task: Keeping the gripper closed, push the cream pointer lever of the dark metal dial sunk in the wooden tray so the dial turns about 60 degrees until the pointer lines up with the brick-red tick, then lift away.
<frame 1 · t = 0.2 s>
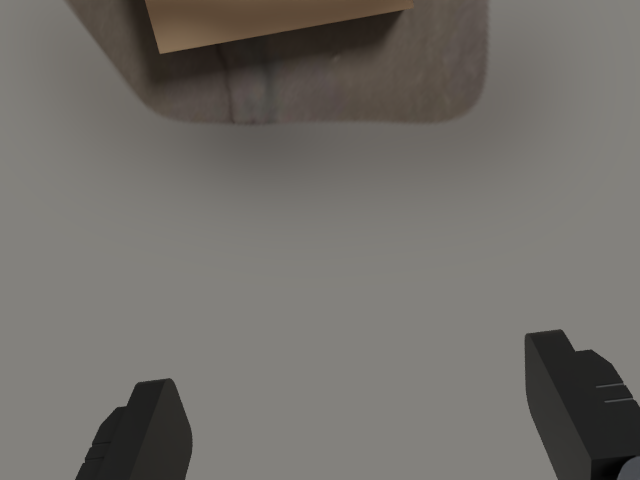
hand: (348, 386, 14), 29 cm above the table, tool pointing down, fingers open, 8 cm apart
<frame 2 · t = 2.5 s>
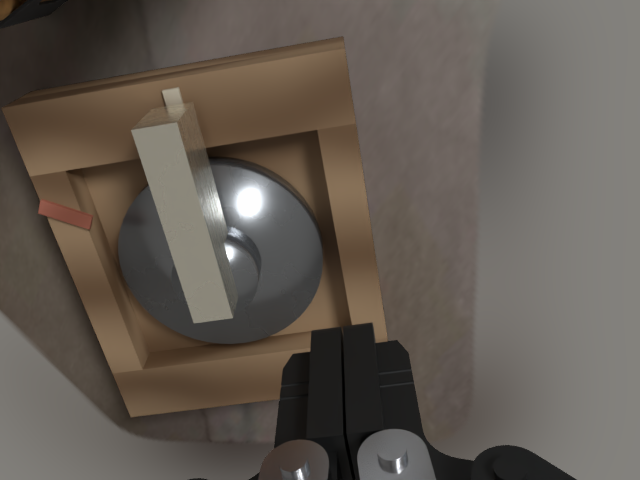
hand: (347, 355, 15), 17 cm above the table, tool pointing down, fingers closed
dial: (208, 246, 28), point 4 cm above the table, hinge at 0.0°
wooden tray: (229, 234, 32), on the table
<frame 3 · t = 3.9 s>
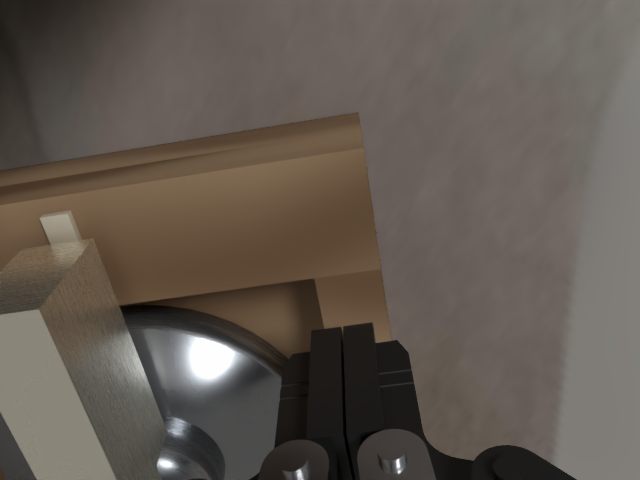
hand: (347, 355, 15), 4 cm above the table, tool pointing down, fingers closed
dial: (133, 459, 17), point 4 cm above the table, hinge at 0.0°
wooden tray: (181, 398, 21), on the table
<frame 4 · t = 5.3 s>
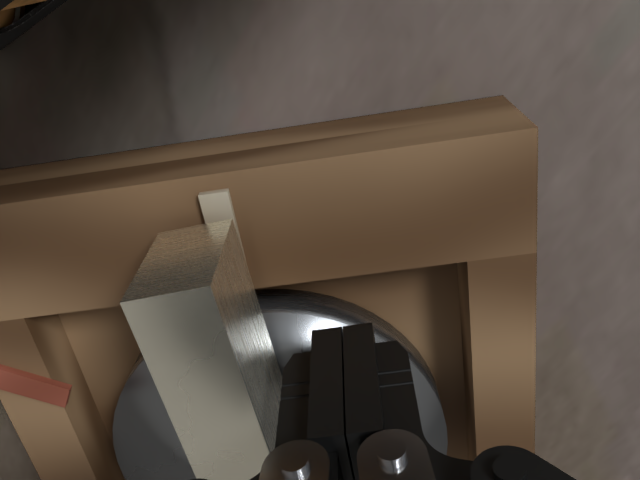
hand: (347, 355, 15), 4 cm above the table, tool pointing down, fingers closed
dial: (264, 446, 16), point 4 cm above the table, hinge at 3.7°, touching gripper
wooden tray: (286, 387, 21), on the table
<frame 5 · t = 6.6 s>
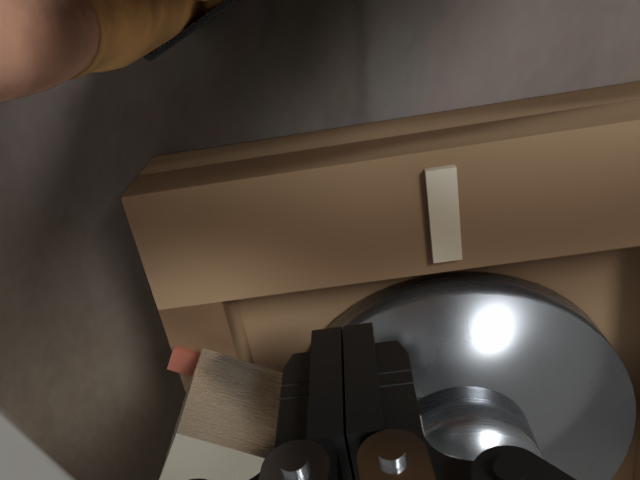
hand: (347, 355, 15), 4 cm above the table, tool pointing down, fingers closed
dial: (419, 457, 16), point 4 cm above the table, hinge at 59.9°, touching gripper
wooden tray: (443, 375, 20), on the table
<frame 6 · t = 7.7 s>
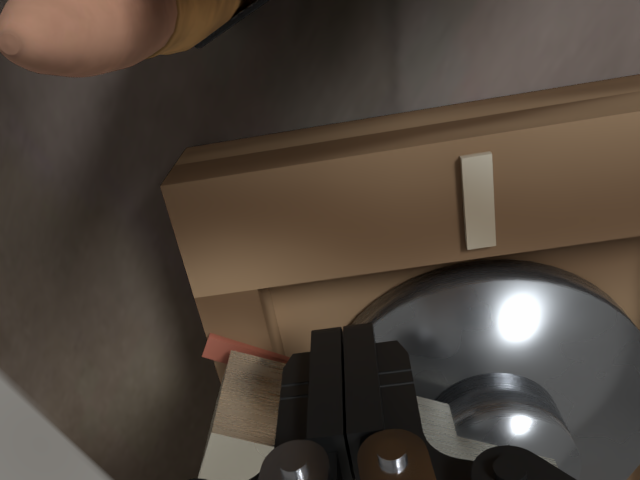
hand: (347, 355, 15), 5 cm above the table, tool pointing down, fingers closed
dial: (449, 445, 17), point 4 cm above the table, hinge at 63.7°
wooden tray: (469, 364, 20), on the table
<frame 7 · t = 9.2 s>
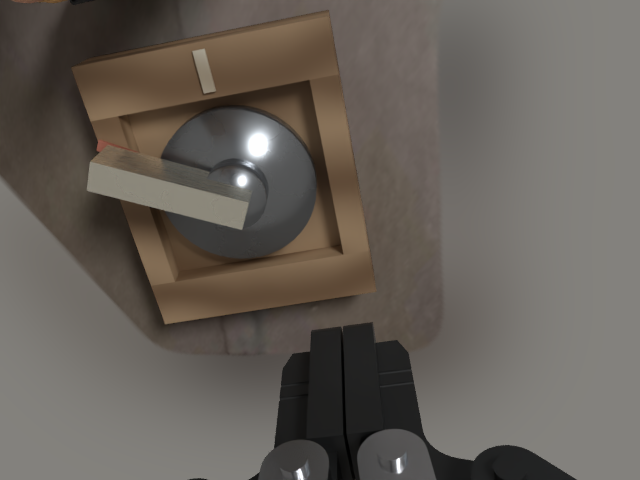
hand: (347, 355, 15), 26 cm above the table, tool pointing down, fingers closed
dial: (210, 189, 37), point 4 cm above the table, hinge at 63.7°
wooden tray: (242, 172, 40), on the table
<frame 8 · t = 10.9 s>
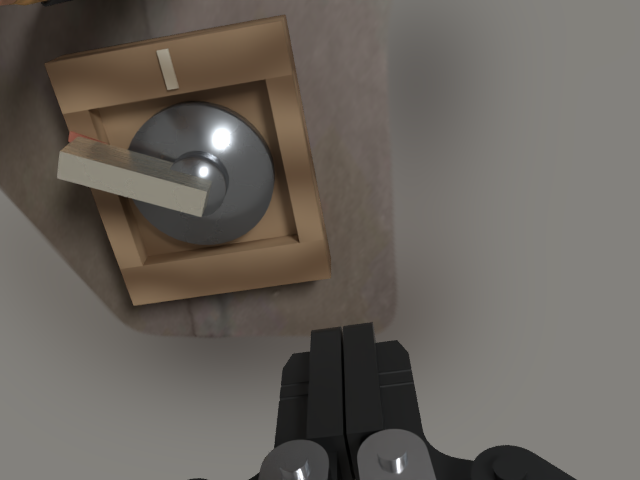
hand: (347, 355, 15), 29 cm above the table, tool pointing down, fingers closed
dial: (173, 179, 39), point 4 cm above the table, hinge at 63.7°
wooden tray: (207, 164, 43), on the table
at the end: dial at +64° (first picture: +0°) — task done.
